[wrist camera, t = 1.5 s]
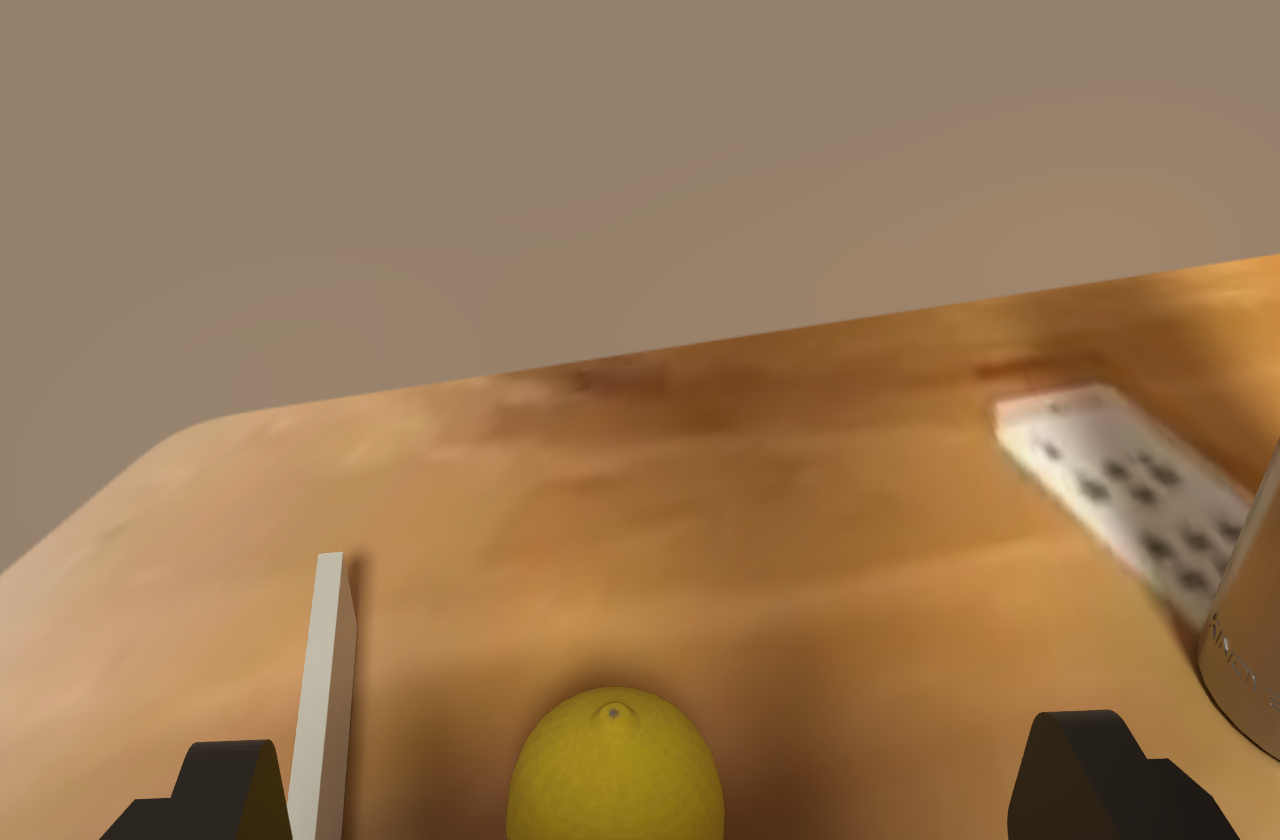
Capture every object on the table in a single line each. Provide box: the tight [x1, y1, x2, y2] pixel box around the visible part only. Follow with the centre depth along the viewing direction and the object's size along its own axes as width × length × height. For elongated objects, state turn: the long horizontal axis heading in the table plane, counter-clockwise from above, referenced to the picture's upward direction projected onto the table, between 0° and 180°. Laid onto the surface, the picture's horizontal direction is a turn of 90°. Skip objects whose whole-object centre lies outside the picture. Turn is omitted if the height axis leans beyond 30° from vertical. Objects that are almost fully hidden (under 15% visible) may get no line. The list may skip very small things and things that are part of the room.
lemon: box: [506, 686, 725, 840], centre depth 28 cm, size 6×6×8 cm
